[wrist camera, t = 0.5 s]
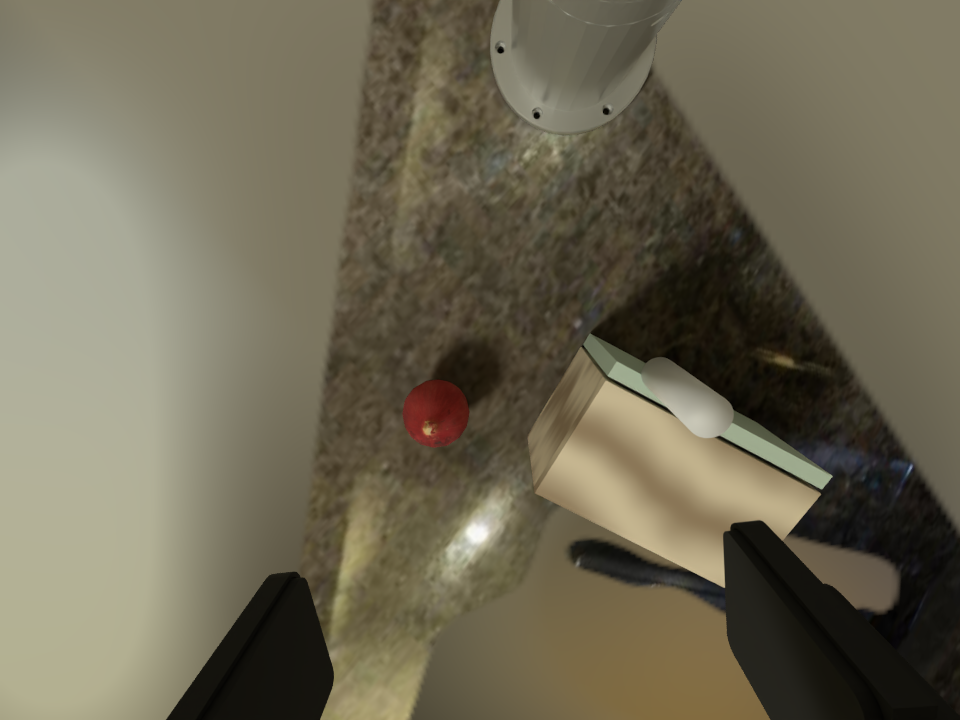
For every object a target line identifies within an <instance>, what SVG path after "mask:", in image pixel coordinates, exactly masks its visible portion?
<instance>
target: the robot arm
mask: <svg viewBox="0 0 960 720" xmlns="http://www.w3.org/2000/svg"><path fill="white" fill-rule="evenodd" d="M681 1H682V0H500V1H499V4H498V7H497V10H496V13H495V15H494V19H493V25H492V30H491V52H490V53H491V63H492V68H493V72H494V77H495V81H496V83H497V85H498V88H499V90H500V92H501V94H502V97H503V98H504V99H505V101H506V102H507V104H508V105H509V107H510V108H511V109H512V110H513V111H514V112H515V113H516V114H517V115H518V116H519V117H520V118H521V119H522V120H523V121H525V122H526V123H528V124H529V125H531V126H533V127H534V128H536V129H539V130H542V131H544V132H547V133H551V134H558V135H578V134H582V133H586V132H589V131H593V130H595V129H597V128H599V127H601V126H603V125H605V124H607V123H609V122H610V121H611V120H613V119H614V118H615V117H617V116H618V115H619V114H620V113H621V112H622V111H623V110H624V109H625V108H626V107H627V106H628V105H629V104H630V103H631V102H632V100H633V99H634V98H635V96H636V95H637V94H638V93H639V91H640V89H641V88H642V86H643V84H644V82H645V80H646V78H647V77H648V74H649V71H650V68H651V65H652V62H653V60H654V54H655V48H656V42H657V33H658V32H659V31H660V29H661V28H662V26H663V25H664V24H665V22H666V21H667V20H668V18H669V17H670V15H671V14H672V13H673V12H674V10H675V9H676V7H677V6H678V5H679V3H680V2H681ZM499 49H503V50H504V52H503V53H502V54H499V53H498V52H497V51H498V50H499ZM604 109H607V110H608V115H604V114H603V110H604ZM535 113H538V114H539V116H540V117H539V119H535V118H534V116H533V115H534V114H535ZM723 550H724V574H725V598H726V621H727V636H728V641H729V644H730V647H731V649H732V652H733V654H734V656H735V658H736V659H737V661H738V663H739V665H740V666H741V668H742V670H743V672H744V674H745V675H746V677H747V679H748V680H749V682H750V684H751V686H752V687H753V689H754V691H755V693H756V695H757V697H758V698H759V700H760V702H761V704H762V705H763V707H764V709H765V711H766V712H767V714H768V716H769V718H770V719H771V720H960V716H959V715H958V714H957V713H956V712H955V711H954V709H953V708H952V707H951V706H950V705H949V704H948V703H947V702H946V701H945V700H944V699H943V698H942V697H941V696H940V695H939V694H938V693H937V692H936V691H935V690H934V689H933V688H932V687H931V686H930V685H929V684H928V683H927V682H926V681H925V680H924V679H923V678H922V677H921V676H920V675H919V673H918V672H917V671H916V670H915V669H914V668H913V667H912V666H911V665H910V664H909V663H908V662H907V661H906V660H905V659H904V658H903V657H902V656H901V655H900V654H899V653H898V652H897V651H896V650H895V649H894V648H893V647H892V646H891V645H890V644H889V643H888V642H887V641H886V640H885V639H884V637H883V636H882V635H881V634H880V633H879V632H878V631H877V630H876V629H875V628H874V627H873V626H872V625H871V624H870V623H869V622H868V621H867V620H866V619H865V618H864V617H863V616H862V615H861V614H860V613H859V612H858V611H857V610H856V609H855V608H854V607H853V606H852V605H851V604H850V602H849V601H848V600H847V599H846V598H845V597H844V596H843V595H842V594H841V593H840V592H839V591H837V590H836V589H835V588H834V587H833V586H830V585H828V584H823V583H822V582H821V581H820V580H819V579H818V578H817V577H816V576H815V575H814V574H813V573H812V572H811V571H810V570H809V569H808V568H807V567H806V565H805V564H804V563H802V561H801V560H800V559H799V558H798V557H797V556H796V555H795V554H794V553H793V552H792V551H791V550H790V549H789V548H788V547H787V545H786V544H784V542H783V541H782V540H781V539H780V538H779V537H778V536H777V535H776V534H775V533H774V532H773V531H772V530H771V528H770V527H769V526H768V525H767V524H766V523H764V522H763V521H761V520H755V521H746V522H737V523H733V524H731V527H730V531H725V532H724V533H723ZM333 681H334V671H333V667H332V663H331V660H330V657H329V653H328V650H327V646H326V643H325V640H324V636H323V633H322V630H321V626H320V623H319V620H318V616H317V613H316V609H315V606H314V603H313V599H312V596H311V593H310V589H309V586H308V583H307V580H306V579H305V578H301V577H300V575H299V574H298V573H297V572H286V573H277V574H272V575H269V576H268V577H267V578H266V580H265V581H264V582H263V584H262V585H261V587H260V588H259V589H258V591H257V592H256V594H255V595H254V597H253V598H252V600H251V601H250V602H249V604H248V605H247V606H246V608H245V609H244V611H243V612H242V613H241V615H240V616H239V618H238V619H237V620H236V622H235V623H234V625H233V626H232V628H231V629H230V630H229V632H228V633H227V635H226V636H225V637H224V639H223V640H222V642H221V643H220V645H219V646H218V647H217V649H216V650H215V651H214V653H213V654H212V656H211V657H210V659H209V660H208V661H207V663H206V664H205V666H204V667H203V668H202V670H201V671H200V673H199V674H198V675H197V677H196V678H195V680H194V681H193V682H192V684H191V685H190V687H189V688H188V690H187V691H186V692H185V694H184V695H183V697H182V698H181V699H180V701H179V702H178V704H177V705H176V707H175V708H174V709H173V711H172V712H171V714H170V715H169V716H168V718H167V719H166V720H320V718H321V716H322V713H323V710H324V708H325V705H326V703H327V700H328V698H329V695H330V692H331V690H332V686H333Z"/></svg>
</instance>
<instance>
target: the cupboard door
mask: <svg viewBox="0 0 960 720" xmlns="http://www.w3.org/2000/svg"><path fill="white" fill-rule="evenodd" d="M583 345H584V347H585V348H586V349H587V350H588V352H589V353H590V354H591V356H592V357H593V358H594V359H595V361H596V362H597V363H598V365H599V366H600V367H601V368H602V370H603V371H604V372H605V373H606V375H607V376H608V377H610V378H612V379H614V380H616V381H618V382H620V383H622V384H624V385H625V386H627V387H629V388H631V389H633V390H635V391H637V392H639V393H641V394H642V395H644V396H646V397H648V398H650V399H652V400H654V401H656V402H658V403H659V404H661V405H663V406H665V407H667V408H668V409H669V410H670V411H671V412H672V413H673V414H674V415H675V416H676V417H677V418H678V419H679V420H680V421H681V422H682V423H683V424H684V425H685V426H686V427H687V428H688V429H689V430H690V431H691V432H692V433H693V434H695V435H696V436H698V437H702V438H713V437H717V436H719V435H720V436H722V437H724V438H726V439H728V440H729V441H731V442H733V443H735V444H737V445H739V446H741V447H743V448H745V449H747V450H748V451H750V452H752V453H754V454H756V455H758V456H760V457H762V458H764V459H765V460H767V461H769V462H771V463H773V464H775V465H777V466H779V467H781V468H782V469H784V470H786V471H788V472H790V473H792V474H794V475H796V476H798V477H799V478H801V479H803V480H805V481H807V482H809V483H811V484H813V485H815V486H816V487H818V488H820V489H823V487H824V486H825V485H826V484H827V483H828V481H829V480H830V479H831V478H832V477H833V476H832V475H830V474H829V473H827V472H826V471H825V470H823V469H822V468H820V467H819V466H817V465H816V464H815V463H813V462H812V461H810V460H809V459H808V458H806V457H805V456H803V455H802V454H801V453H799V452H798V451H796V450H795V449H794V448H792V447H791V446H789V445H788V444H786V443H785V442H784V441H782V440H781V439H779V438H778V437H777V436H775V435H774V434H772V433H771V432H770V431H768V430H767V429H765V428H764V427H763V426H761V425H760V424H758V423H757V422H755V421H753V420H751V419H749V418H747V417H746V416H744V415H742V414H740V413H738V412H736V411H734V410H733V408H732V406H731V404H730V403H729V402H728V401H727V400H726V399H725V398H723V397H722V396H721V395H719V394H718V393H716V392H715V391H713V390H712V389H711V388H709V387H708V386H706V385H705V384H704V383H702V382H701V381H699V380H698V379H696V378H695V377H694V376H692V375H691V374H689V373H688V372H686V371H685V370H684V369H682V368H681V367H679V366H678V365H677V364H675V363H674V362H672V361H671V360H669V359H667V358H664V357H656V358H653V359H651V360H649V361H648V362H647V363H645V362H643V361H641V360H639V359H637V358H635V357H633V356H631V355H630V354H628V353H626V352H624V351H622V350H620V349H618V348H617V347H615V346H613V345H611V344H609V343H607V342H605V341H603V340H602V339H600V338H598V337H596V336H594V335H592V334H589V336H588V337H587V339H586V341H585V342H584V344H583Z"/></svg>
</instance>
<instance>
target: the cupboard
mask: <svg viewBox="0 0 960 720" xmlns="http://www.w3.org/2000/svg"><path fill="white" fill-rule="evenodd" d="M528 443H529V451H530V459H531V467H532V475H533V483H534V490H535V493H536V494H538V495H540V496H542V497H544V498H546V499H548V500H550V501H552V502H554V503H556V504H558V505H560V506H562V507H564V508H566V509H568V510H570V511H572V512H574V513H576V514H578V515H580V516H582V517H584V518H586V519H588V520H590V521H592V522H594V523H596V524H598V525H600V526H602V527H604V528H606V529H608V530H610V531H612V532H614V533H616V534H618V535H620V536H622V537H624V538H626V539H628V540H630V541H632V542H634V543H636V544H638V545H640V546H642V547H644V548H646V549H648V550H650V551H652V552H654V553H656V554H658V555H660V556H662V557H664V558H666V559H668V560H670V561H672V562H674V563H676V564H678V565H680V566H682V567H684V568H686V569H688V570H690V571H692V572H694V573H696V574H698V575H700V576H702V577H704V578H706V579H708V580H710V581H712V582H714V583H716V584H718V585H720V586H722V587H724V588H725V574H724V550H723V533H724V532H725V531H730V527H731V524H733V523H737V522H746V521H755V520H761V521H763V522H764V523H766V524H767V525H768V526H769V527H770V528H771V530H772V531H773V532H774V533H775V534H776V535H777V536H778V537H779V538H780V539H781V540H782V541H783V539H784V538H785V537H786V536H787V535H788V533H789V532H790V531H791V530H792V529H793V527H794V526H795V525H796V524H797V523H798V521H799V520H800V519H801V518H802V517H803V515H804V514H805V513H806V512H807V511H808V509H809V508H810V507H811V506H812V504H813V503H814V502H815V501H816V500H817V498H818V497H819V496H820V495H821V494H820V493H819V492H818V491H817V490H815V489H814V488H813V487H812V486H810V485H809V484H808V483H806V482H805V481H804V480H803V479H801V478H799V477H798V476H796V475H794V474H792V473H790V472H788V471H786V470H784V469H782V468H781V467H779V466H777V465H775V464H773V463H771V462H769V461H767V460H765V459H764V458H762V457H760V456H758V455H756V454H754V453H752V452H750V451H748V450H747V449H745V448H743V447H741V446H739V445H737V444H735V443H733V442H731V441H729V440H728V439H726V438H724V437H722V436H720V435H719V436H717V437H713V438H702V437H698V436H696V435H695V434H693V433H692V432H691V431H690V430H689V429H688V428H687V427H686V426H685V425H684V424H683V423H682V422H681V421H680V420H679V419H678V418H677V417H676V416H675V415H674V414H673V413H672V412H671V411H670V410H669V409H668V408H667V407H665V406H663V405H661V404H659V403H658V402H656V401H654V400H652V399H650V398H648V397H646V396H644V395H642V394H641V393H639V392H637V391H635V390H633V389H631V388H629V387H627V386H625V385H624V384H622V383H620V382H618V381H616V380H614V379H612V378H610V377H608V376H607V375H606V373H605V372H604V371H603V370H602V368H601V367H600V366H599V365H598V363H597V362H596V361H595V359H594V358H593V357H592V356H591V354H590V353H589V352H588V350H586V349H584V348H582V347H580V349H579V351H578V352H577V354H576V356H575V357H574V359H573V361H572V362H571V364H570V366H569V367H568V369H567V371H566V372H565V374H564V375H563V377H562V379H561V380H560V382H559V384H558V385H557V387H556V389H555V390H554V392H553V394H552V395H551V397H550V399H549V400H548V402H547V404H546V405H545V407H544V409H543V410H542V412H541V414H540V415H539V417H538V419H537V420H536V422H535V424H534V425H533V427H532V429H531V430H530V432H529V434H528Z"/></svg>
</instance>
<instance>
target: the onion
mask: <svg viewBox="0 0 960 720" xmlns="http://www.w3.org/2000/svg"><path fill="white" fill-rule="evenodd" d="M468 417H469V408H468V404H467V400H466V397H465V396H464V394H463V393H462V391H461V390H460V389H459V388H458V387H457V386H455V385H454V384H452V383H451V382H448V381H443V380H439V379H437V380H431V381H426V382H424V383H422V384H420V385H419V386H417V387H415V388H414V389H413V390H412V391H411V392H410V394H409V395H408V396H407V398H406V400H405V403H404V408H403V419H404V424H405V428H406V429H407V431H408V432H409V434H410V436H411V437H412V438H413V439H415V440H416V441H417V442H419V443H420V444H422V445H426V446H430V447H440V446H447V445H449V444H450V443H452V442H453V441H455V440H456V439H458V438H459V437H460V436H461V434H462V433H463V431H464V430H465V428H466V426H467V422H468Z"/></svg>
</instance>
